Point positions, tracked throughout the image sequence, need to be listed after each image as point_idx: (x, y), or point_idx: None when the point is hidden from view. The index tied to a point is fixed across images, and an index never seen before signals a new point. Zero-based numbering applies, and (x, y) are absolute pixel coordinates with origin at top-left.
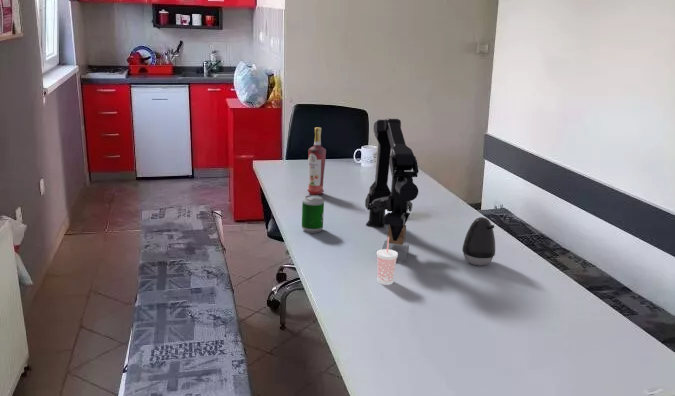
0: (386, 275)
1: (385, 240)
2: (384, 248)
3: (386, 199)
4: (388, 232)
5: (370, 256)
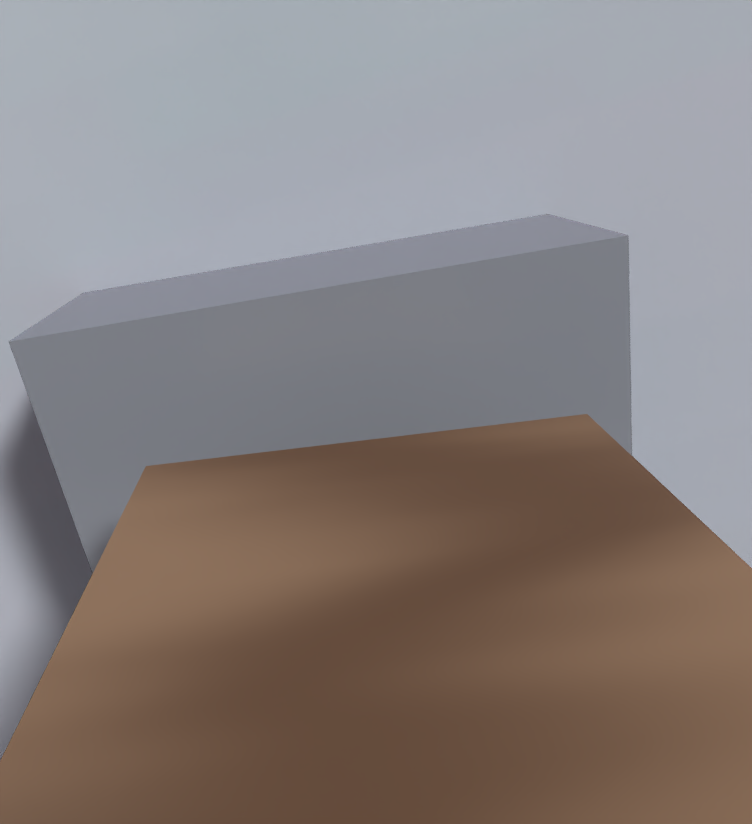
0: None
1: (628, 244)
2: (96, 385)
3: None
4: (41, 739)
5: (44, 56)
